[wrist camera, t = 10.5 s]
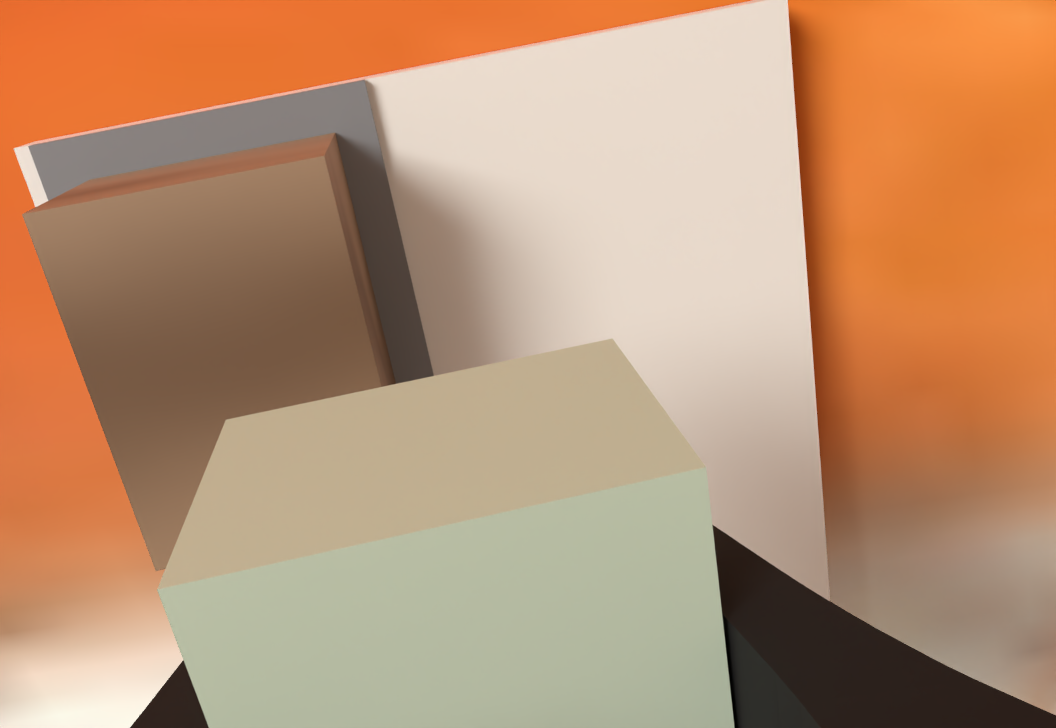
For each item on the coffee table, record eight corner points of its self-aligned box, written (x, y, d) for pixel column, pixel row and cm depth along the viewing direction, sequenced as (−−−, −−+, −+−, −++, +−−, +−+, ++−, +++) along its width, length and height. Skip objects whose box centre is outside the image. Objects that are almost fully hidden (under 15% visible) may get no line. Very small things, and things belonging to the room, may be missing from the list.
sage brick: (671, 752, 12) (762, 981, 9) (355, 830, 11) (346, 1093, 8) (613, 338, 10) (705, 467, 7) (225, 419, 9) (158, 589, 6)
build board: (825, 758, 23) (847, 795, 22) (311, 892, 22) (307, 937, 21) (765, -2, 17) (792, -5, 16) (35, 141, 16) (8, 150, 15)
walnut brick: (407, 434, 17) (412, 513, 14) (193, 481, 17) (156, 571, 14) (334, 132, 15) (324, 155, 12) (89, 179, 15) (22, 214, 12)
